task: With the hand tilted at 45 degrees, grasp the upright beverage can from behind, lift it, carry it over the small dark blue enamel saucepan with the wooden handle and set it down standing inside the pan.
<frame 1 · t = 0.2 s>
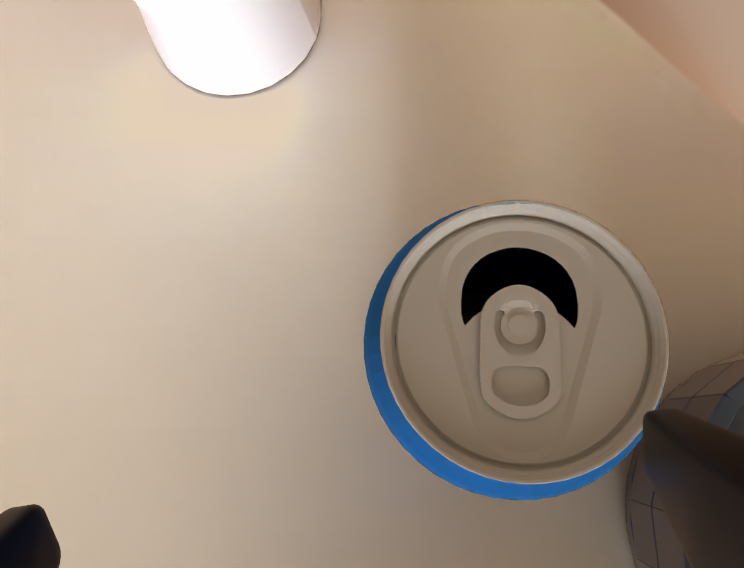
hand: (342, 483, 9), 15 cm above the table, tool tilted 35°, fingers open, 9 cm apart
cup: (238, 22, 28), on the table
beverage can: (470, 379, 24), on the table
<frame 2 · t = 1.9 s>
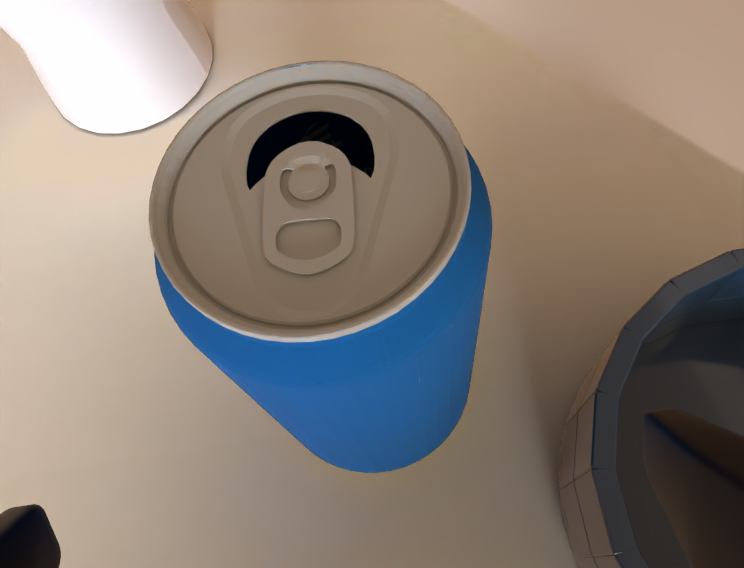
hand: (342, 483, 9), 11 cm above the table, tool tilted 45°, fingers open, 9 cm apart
cup: (135, 72, 29), on the table
beverage can: (375, 381, 22), on the table
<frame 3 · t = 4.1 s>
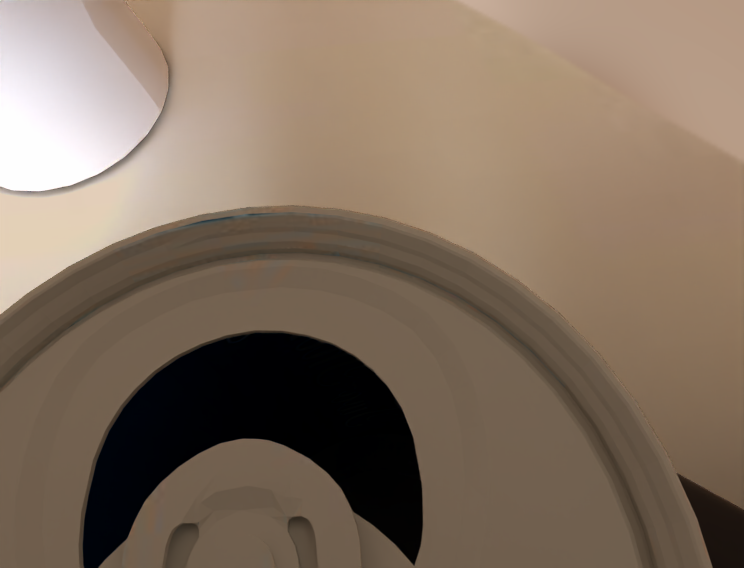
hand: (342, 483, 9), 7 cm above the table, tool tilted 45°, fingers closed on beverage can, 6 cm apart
cup: (67, 105, 22), on the table
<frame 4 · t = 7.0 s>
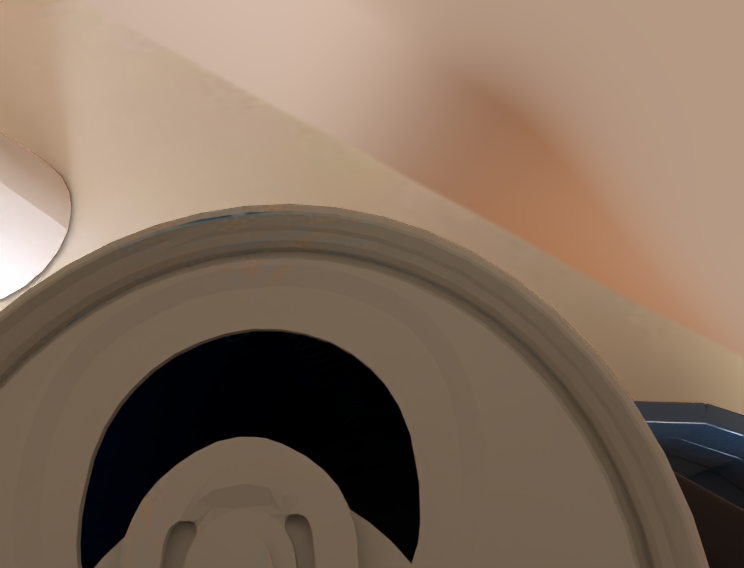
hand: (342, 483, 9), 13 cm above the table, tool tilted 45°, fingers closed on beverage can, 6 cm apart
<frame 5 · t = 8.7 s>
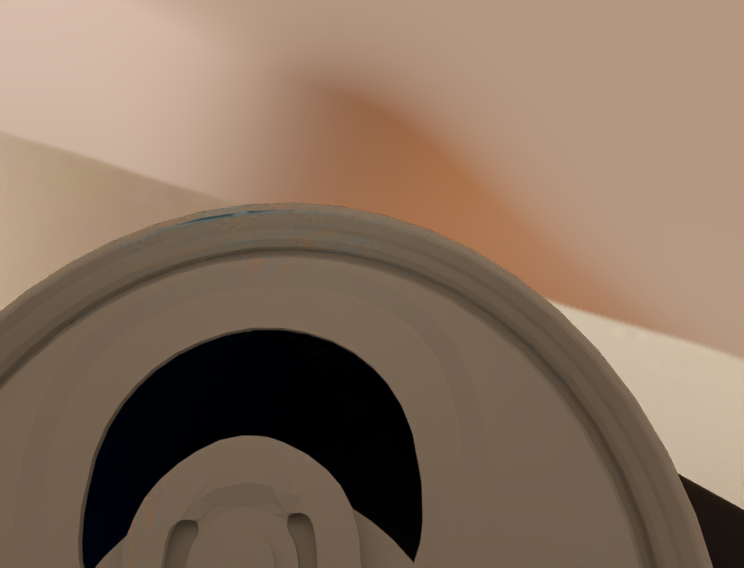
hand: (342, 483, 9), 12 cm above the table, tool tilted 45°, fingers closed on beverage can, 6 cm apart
when the fingers open (7 cm above the table, at t = 10.4 s): beverage can stays where it is, resting on pot.
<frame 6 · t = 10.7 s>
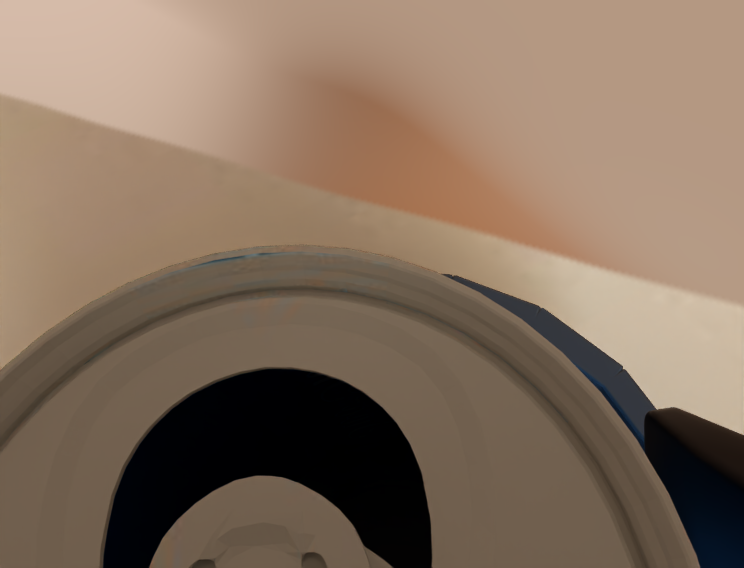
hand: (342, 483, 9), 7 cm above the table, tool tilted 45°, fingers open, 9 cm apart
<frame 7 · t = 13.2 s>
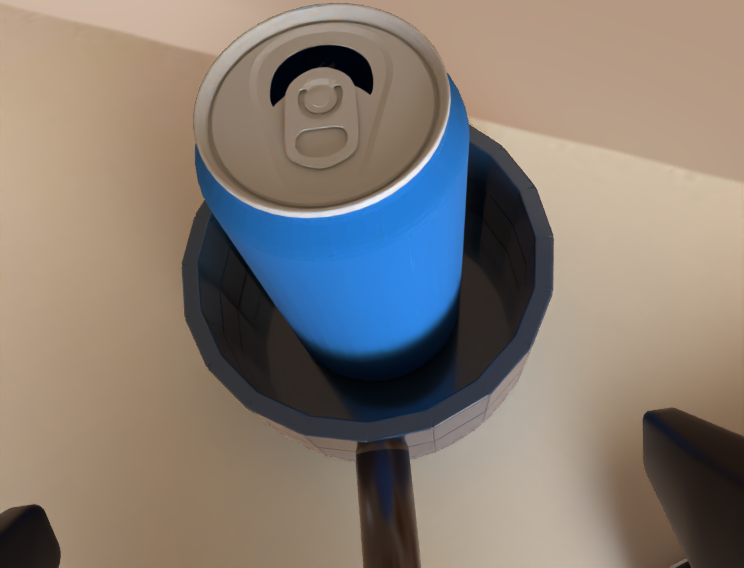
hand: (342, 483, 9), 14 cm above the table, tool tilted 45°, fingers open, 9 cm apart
pot: (377, 306, 25), on the table
pot handle: (391, 556, 17), point 4 cm above the table
beverage can: (376, 307, 24), resting on pot
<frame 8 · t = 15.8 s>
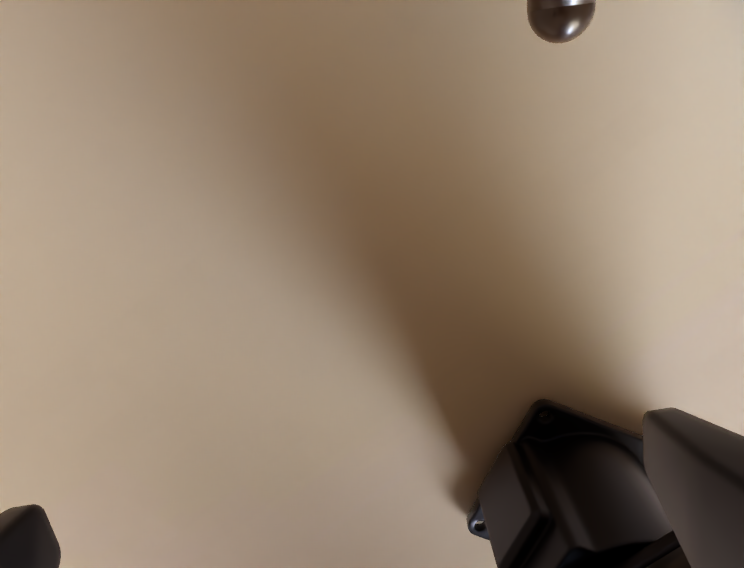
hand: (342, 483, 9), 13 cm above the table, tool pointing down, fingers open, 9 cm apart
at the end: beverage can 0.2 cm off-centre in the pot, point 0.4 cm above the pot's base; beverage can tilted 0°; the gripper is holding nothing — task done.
